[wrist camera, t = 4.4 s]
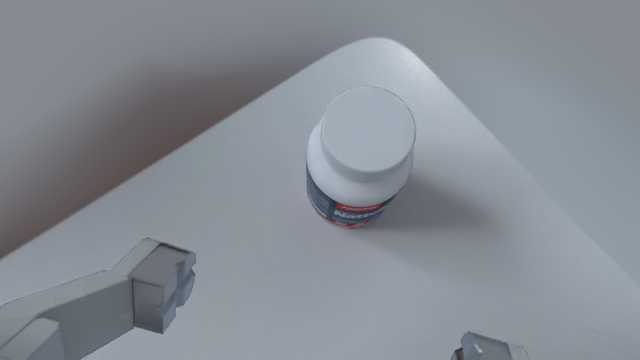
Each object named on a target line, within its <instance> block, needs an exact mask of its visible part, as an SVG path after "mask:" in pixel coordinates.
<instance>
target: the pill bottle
mask: <svg viewBox="0 0 640 360" xmlns="http://www.w3.org/2000/svg"><path fill="white" fill-rule="evenodd" d="M415 137H416V126H415V121H414V118H413V116H412V113H411V111H410V110H409V108H408V107H407V105H406V104H405V103H404V102H403V101H402V100H401V99H400V98H399V97H397V96H396V95H394V94H393V93H391V92H389V91H387V90H385V89H381V88H377V87H371V86H362V87H356V88H351V89H349V90H346V91H344V92H343V93H341V94H339V95H338V96H337V97H335V98H334V99H333V100H332V101H331V103H330V104H329V105H328V107H327V109H326V110H325V113H324V115H323V118H322V119H321V120H320V121H319V123H318V124H317V125H316V126H315V128H314V129H313V131H312V133H311V135H310V137H309V140H308V144H307V151H306V174H307V193H308V197H309V201H310V203H311V205H312V207H313V208H314V210H315V211H316V213H317V214H318V215H319V216H320V217H321V218H323V219H324V220H325V221H327V222H329V223H330V224H333V225H335V226H339V227H344V228H355V227H360V226H363V225H366V224H368V223H370V222H372V221H373V220H375V219H376V218H377V217H378V216H379V215H380V214H381V213H382V212H383V211H384V209H385V208H386V207H387V206H388V205H389V203H390V202H391V201H392V200H393V198H394V197H395V196H396V195H397V193H398V192H399V191H400V190H401V188H402V187H403V186H404V184H405V183H406V181H407V179H408V177H409V175H410V172H411V169H412V164H413V149H412V148H413V145H414V142H415Z"/></svg>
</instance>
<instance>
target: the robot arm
mask: <svg viewBox="0 0 640 360" xmlns="http://www.w3.org/2000/svg"><path fill="white" fill-rule="evenodd" d="M195 263H196V254H195V253H194V252H192V251H189V250H186V249H183V248H180V247H177V246H174V245H170V244H167V243H164V242H160V241H157V240H153V239H150V238H146V239H143V240H142V241H141V242H140V243H139V244H137V245H136V246H135V247H134V248H133V249H132V250H131V251H130V252H129V253H128V254H127V255H126V256H125V257H124V258H123V259H121V260H120V261H119V262H118V263H117V264H116V265H115V266H114V267H113V268H112V269H111V270H110V271H105V270H103V271H100V272H97V273H94V274H91V275H88V276H85V277H82V278H79V279H76V280H73V281H70V282H68V283H65V284H62V285H59V286H56V287H53V288H50V289H47V290H44V291H41V292H38V293H35V294H32V295H29V296H26V297H23V298H20V299H17V300H14V301H11V302H8V303H6V304H4V305H3V306H2V307H0V360H80V359H82V358H83V357H85V356H87V355H89V354H90V353H92V352H94V351H96V350H97V349H99V348H101V347H102V346H104V345H106V344H108V343H109V342H111V341H113V340H114V339H116V338H118V337H120V336H121V335H123V334H125V333H126V332H128V331H130V330H132V329H133V328H134V327H138V328H142V329H145V330H149V331H152V332H156V333H160V334H163V333H164V332H165V331H166V329H167V328H168V326H169V325H170V323H171V322H172V321H173V319H174V318H175V316H176V308H177V307H180V306H182V305H184V303H185V302H186V300H187V299H188V297H189V295H190V293H191V290H192V288H193V285H194V280H195V273H194V272H193V270H192V267H193V266H194V264H195ZM461 343H462V348H460V349H457V350H455V352H454V353H453V355H452V357H451V360H529V357H528V354H527V352H526V350H525V349H524V348H523V346H519V345H516V344H512V343H508V342H505V341H504V342H503V341H501V340H497V339H493V338H490V337H486V336H483V335H479V334H476V333H472V332H469V331H468V332H467V333H465V334H464V336H463V337H462V339H461Z"/></svg>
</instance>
